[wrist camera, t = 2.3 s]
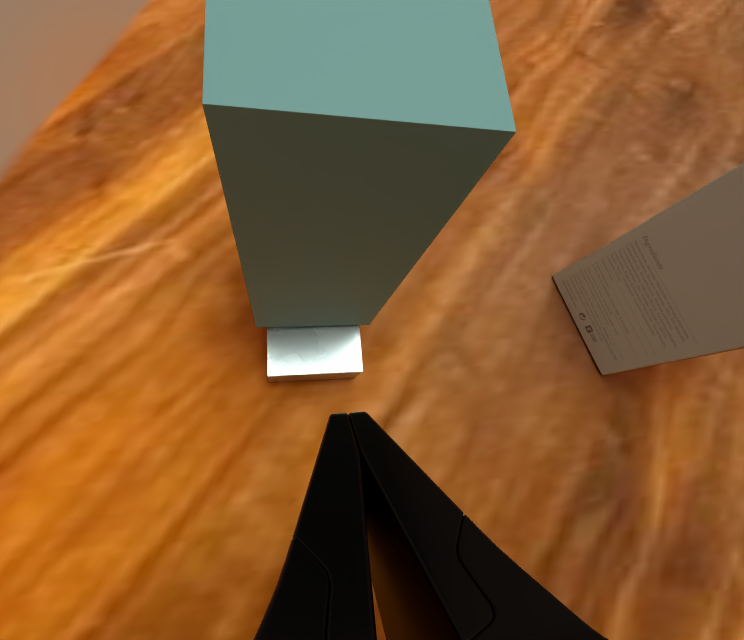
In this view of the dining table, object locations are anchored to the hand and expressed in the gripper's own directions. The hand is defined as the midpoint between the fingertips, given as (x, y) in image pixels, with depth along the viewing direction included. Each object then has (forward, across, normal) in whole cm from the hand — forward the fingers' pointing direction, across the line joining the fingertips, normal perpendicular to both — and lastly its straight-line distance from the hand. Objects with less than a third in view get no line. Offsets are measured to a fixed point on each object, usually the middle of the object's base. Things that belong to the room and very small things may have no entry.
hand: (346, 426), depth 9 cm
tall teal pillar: (+10, 0, 0) cm, 10 cm away
